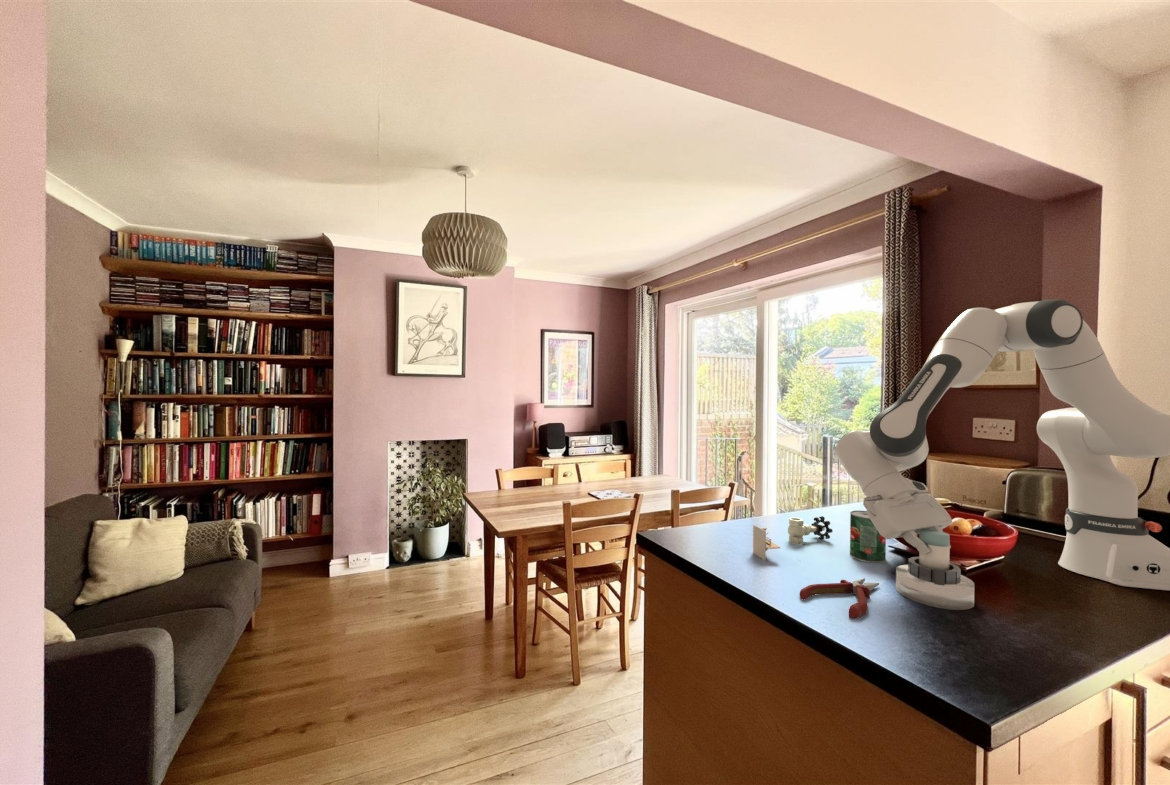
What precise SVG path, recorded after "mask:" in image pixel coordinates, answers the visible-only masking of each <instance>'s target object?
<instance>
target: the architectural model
mask: <svg viewBox="0 0 1170 785" xmlns="http://www.w3.org/2000/svg"><path fill="white" fill-rule="evenodd" d="M752 526H753V531H752V532H753V534H752V536H753V537H752V543H753V544H752V553H753V554H754V555H756V556H757V557H758V558H761V559H762V560H763V561H766V551H768V550H774V549H775V550H776V549H778V550H779V549H781V546H779V545H777V544H776V543H774V542H772V539H771V538H769V537H767V535H768V534H769V532H767V531H766V530H768V528H767V527H763V528H761V527H759V526H757V525H755V524H753V525H752ZM766 532H767V533H766Z"/></svg>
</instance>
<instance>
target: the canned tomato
mask: <svg viewBox="0 0 1170 785" xmlns="http://www.w3.org/2000/svg"><path fill="white" fill-rule="evenodd" d="M849 513H850V518H849V520H850V522H849V523H850V525H849V527H850V528H849V529H850V530H849V532H850V533H849V535H850V536H849V556H850V557H852V558H853V559H855V560H857V561H861V562H866V563H873V564H882V562H883V563H885V562H886V561H887V560H886V554H887V552H886V551H887V542H886V541H887V539H886V538H884V537H883V536H881V535H880V533H879V532H878V531H877V529H876V528H875V526H874V525H873V523H872V521H871V520H870V518H869V516H868V514H867V510H852V511H850V512H849Z"/></svg>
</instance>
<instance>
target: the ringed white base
mask: <svg viewBox="0 0 1170 785" xmlns="http://www.w3.org/2000/svg"><path fill="white" fill-rule="evenodd" d="M961 570H962V568H960V566H958V565H957V564H955V563H952V562H950V561H949V570H944V569H939V568H934V569H932V568H928V567H925V566H922V565H919V556H912V557H910V558H907V564H902V565H898V566H896V567H895V590H896V592H898V594H900V595H902V596H903V597H905V598H907V599H909V600H912V601H913V602H917V603H919V604H923V605H926V606H929V607H933V608H938V609H945V610H951V611H965V610H970V609H972V608H974V607H975V582H974V581H973V580H972V579H971V578H968V577H967V576H965V575H963V574H962V571H961Z"/></svg>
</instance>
